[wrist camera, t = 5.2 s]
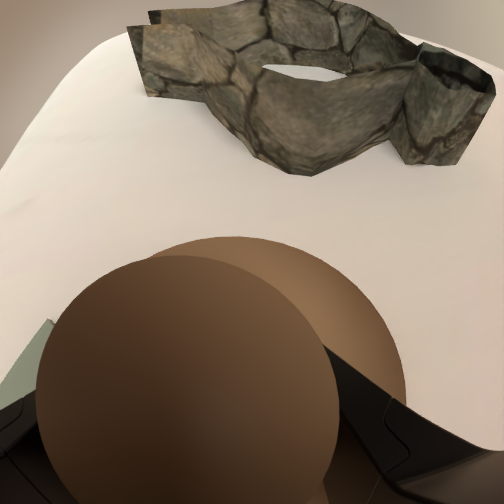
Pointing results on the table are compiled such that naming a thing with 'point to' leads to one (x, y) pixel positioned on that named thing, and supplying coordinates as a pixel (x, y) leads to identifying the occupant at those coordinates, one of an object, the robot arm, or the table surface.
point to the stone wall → (314, 82)
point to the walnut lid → (207, 376)
